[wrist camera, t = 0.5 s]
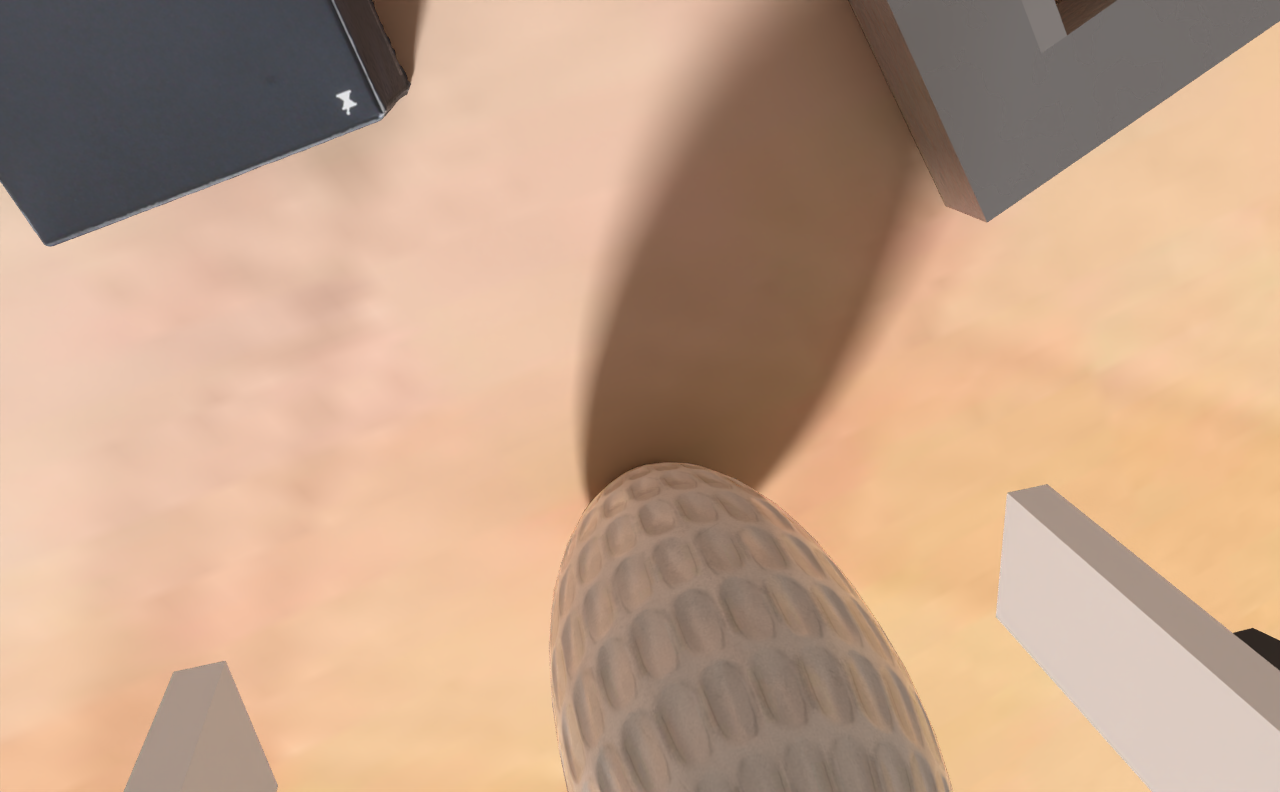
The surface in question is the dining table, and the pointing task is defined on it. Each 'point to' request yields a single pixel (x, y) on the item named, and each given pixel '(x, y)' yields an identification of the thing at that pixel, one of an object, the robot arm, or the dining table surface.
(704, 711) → the vase
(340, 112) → the small box
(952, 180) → the grey slotted plate
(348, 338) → the dining table surface
